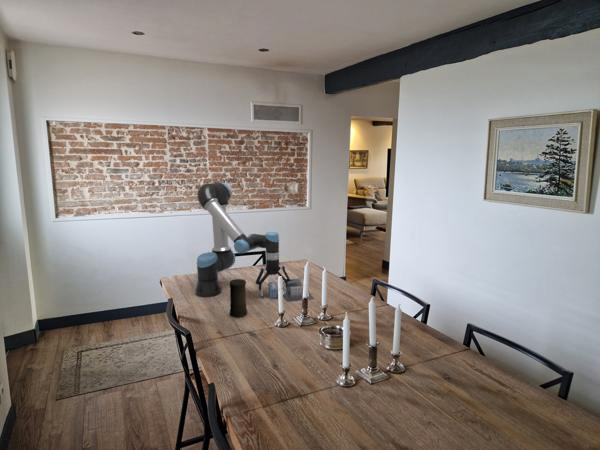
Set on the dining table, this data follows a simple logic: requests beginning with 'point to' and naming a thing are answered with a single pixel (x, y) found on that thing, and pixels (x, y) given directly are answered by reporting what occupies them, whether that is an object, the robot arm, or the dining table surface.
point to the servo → (272, 289)
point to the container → (238, 298)
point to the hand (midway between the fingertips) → (273, 294)
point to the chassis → (295, 290)
